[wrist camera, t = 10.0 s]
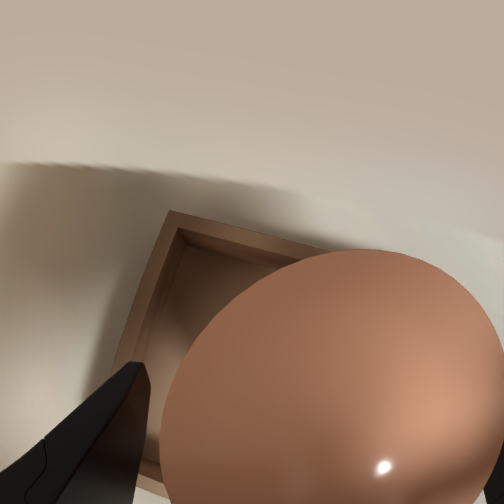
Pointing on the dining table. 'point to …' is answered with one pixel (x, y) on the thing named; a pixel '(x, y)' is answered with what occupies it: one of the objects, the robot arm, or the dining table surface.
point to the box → (190, 304)
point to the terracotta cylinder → (338, 390)
